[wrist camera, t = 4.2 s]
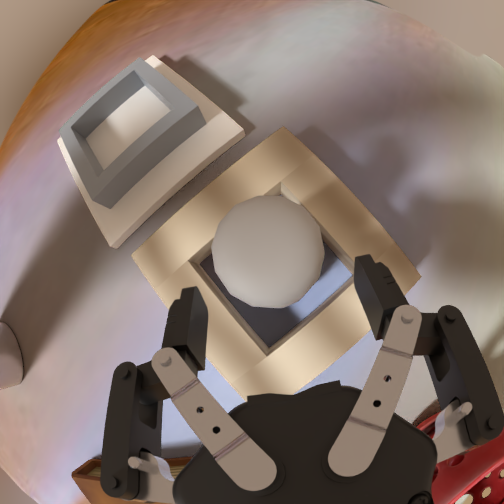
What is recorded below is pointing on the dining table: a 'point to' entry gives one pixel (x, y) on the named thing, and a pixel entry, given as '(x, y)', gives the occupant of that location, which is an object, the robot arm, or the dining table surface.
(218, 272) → the salt shaker
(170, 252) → the birch holder block
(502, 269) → the dining table surface
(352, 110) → the dining table surface
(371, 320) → the robot arm
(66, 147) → the socket plate
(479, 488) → the plant pot
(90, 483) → the diary
